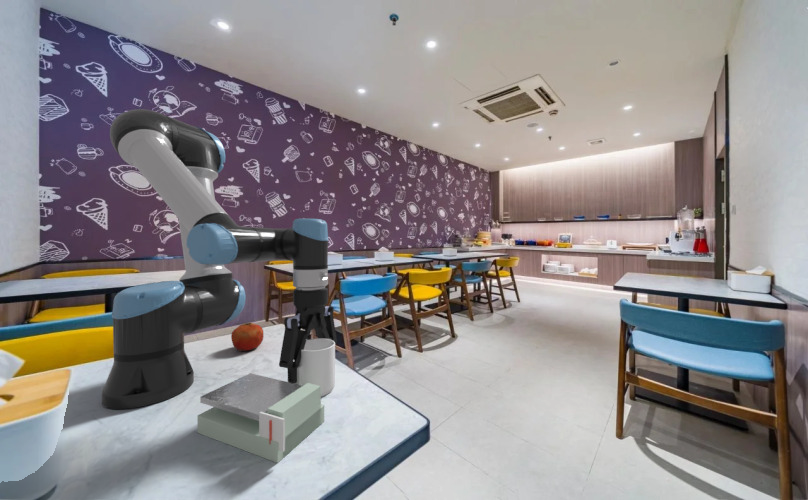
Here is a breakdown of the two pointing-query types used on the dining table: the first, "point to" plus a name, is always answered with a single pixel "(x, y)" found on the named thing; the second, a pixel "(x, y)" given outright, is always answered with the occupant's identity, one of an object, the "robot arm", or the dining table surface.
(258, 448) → the scale base
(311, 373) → the cup
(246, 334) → the tomato
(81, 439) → the dining table surface
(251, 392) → the speckled metal plate
